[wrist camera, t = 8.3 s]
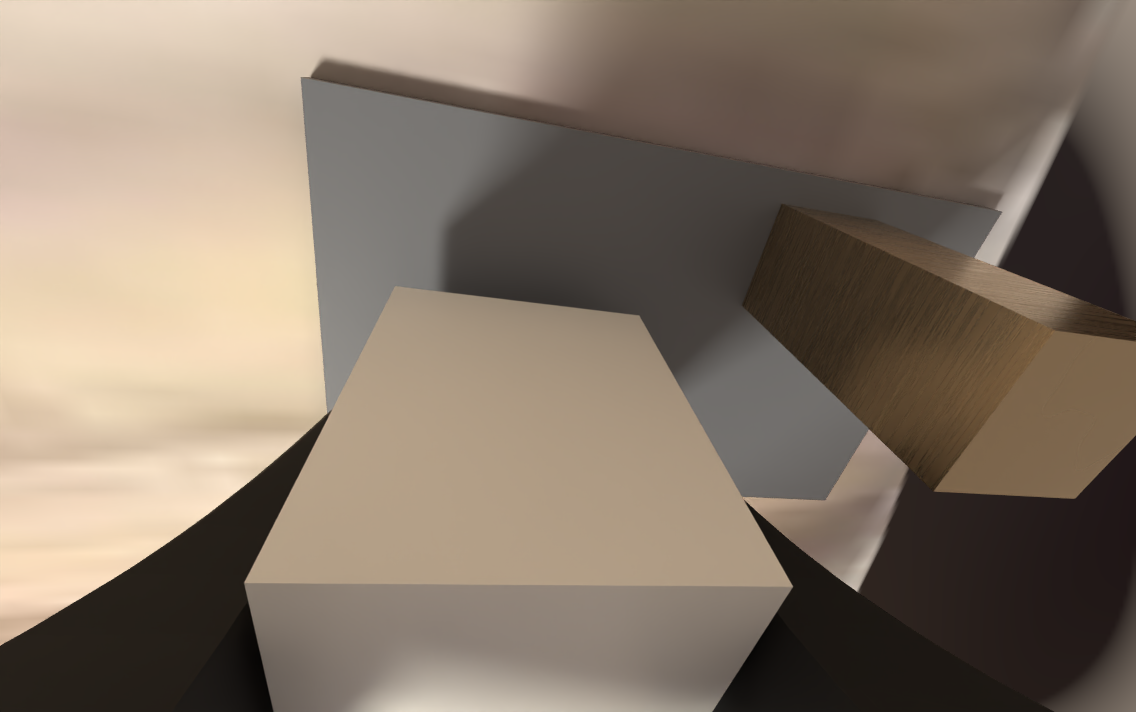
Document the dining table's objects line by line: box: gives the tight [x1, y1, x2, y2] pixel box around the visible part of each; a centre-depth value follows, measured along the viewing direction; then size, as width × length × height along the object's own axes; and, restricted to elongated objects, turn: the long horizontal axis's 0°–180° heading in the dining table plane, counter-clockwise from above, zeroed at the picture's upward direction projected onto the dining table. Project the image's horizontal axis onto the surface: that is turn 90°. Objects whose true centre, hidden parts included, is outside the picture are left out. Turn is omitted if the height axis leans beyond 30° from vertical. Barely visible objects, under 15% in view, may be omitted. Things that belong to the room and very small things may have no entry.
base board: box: [301, 77, 1002, 500], centre depth 13 cm, size 10×16×1 cm, turn 80°
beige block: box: [244, 286, 793, 712], centre depth 9 cm, size 5×5×7 cm
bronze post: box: [742, 204, 1136, 499], centre depth 9 cm, size 3×3×6 cm
